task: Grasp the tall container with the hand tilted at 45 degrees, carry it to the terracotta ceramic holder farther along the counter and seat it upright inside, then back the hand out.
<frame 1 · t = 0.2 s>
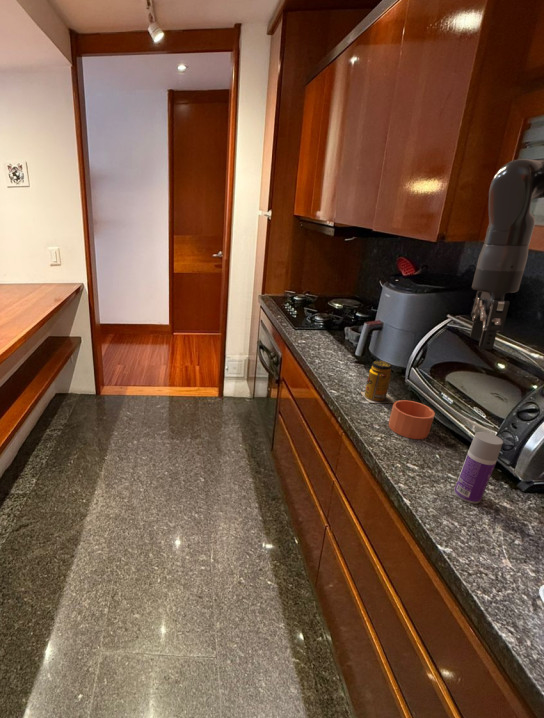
hand: (480, 343, 84), 31 cm above the worktop, tool pointing down, fingers open, 8 cm apart
condiment: (377, 398, 124), on the worktop
holder: (408, 429, 108), on the worktop
container: (466, 496, 84), on the worktop
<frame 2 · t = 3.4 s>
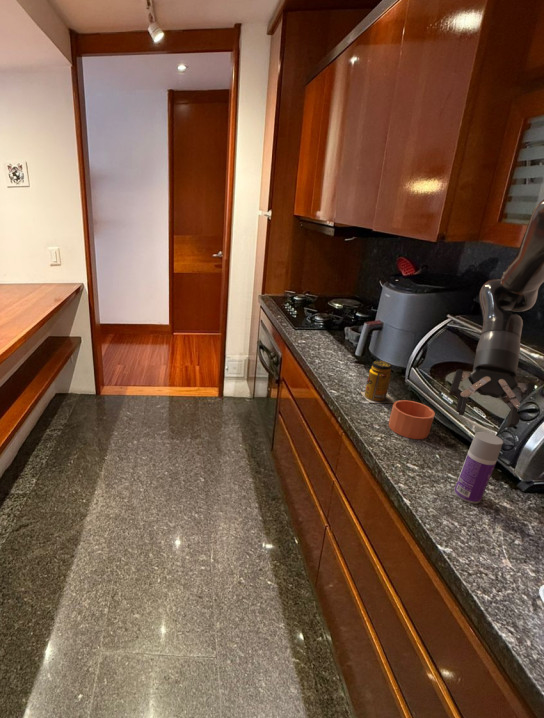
hand: (485, 420, 84), 15 cm above the worktop, tool tilted 45°, fingers open, 8 cm apart
nothing on the worktop moved.
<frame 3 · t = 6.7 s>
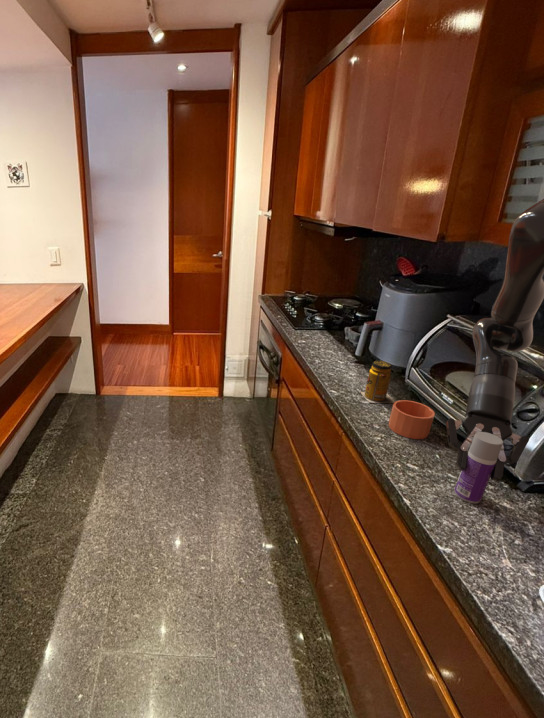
hand: (478, 474, 80), 7 cm above the worktop, tool tilted 45°, fingers closed on container, 4 cm apart
container: (466, 496, 84), on the worktop, touching gripper
everything else where it was.
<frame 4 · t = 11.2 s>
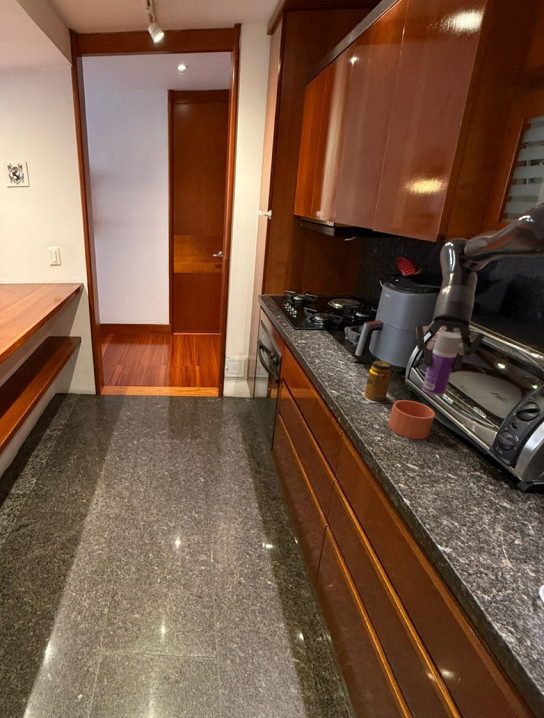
hand: (440, 367, 92), 22 cm above the worktop, tool tilted 45°, fingers closed on container, 4 cm apart
container: (432, 391, 97), point 15 cm above the worktop, touching gripper
everything else where it was.
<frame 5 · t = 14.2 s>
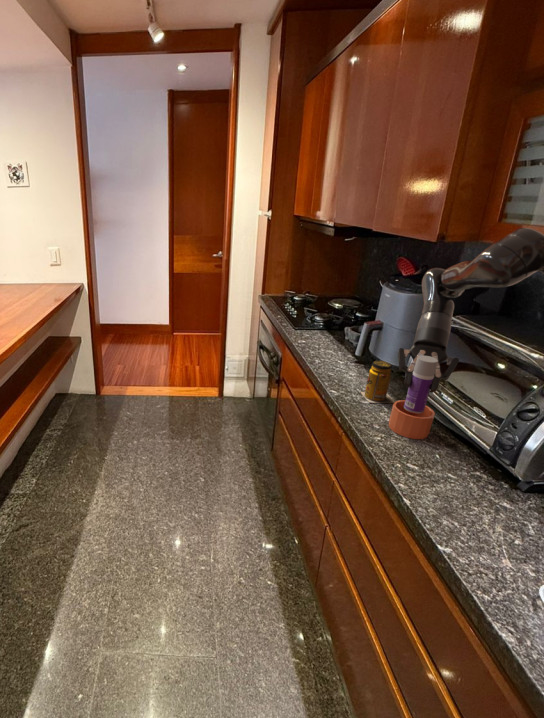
hand: (419, 388, 101), 13 cm above the worktop, tool tilted 45°, fingers closed on container, 4 cm apart
container: (413, 409, 105), point 6 cm above the worktop, touching gripper
everything else where it was.
when the fingers open (8 cm above the worktop, at t = 16.2 s): container stays where it is, resting on holder.
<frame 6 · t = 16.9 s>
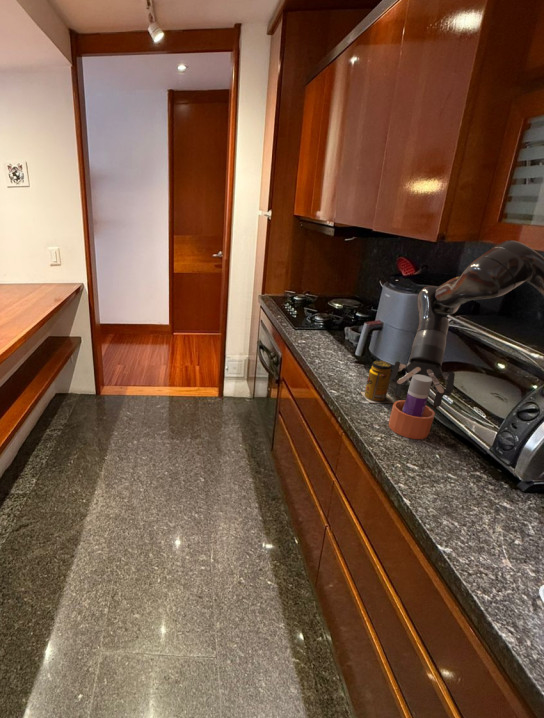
hand: (415, 402, 103), 9 cm above the worktop, tool tilted 45°, fingers open, 8 cm apart
container: (408, 426, 107), point 1 cm above the worktop, touching holder
everything else where it was.
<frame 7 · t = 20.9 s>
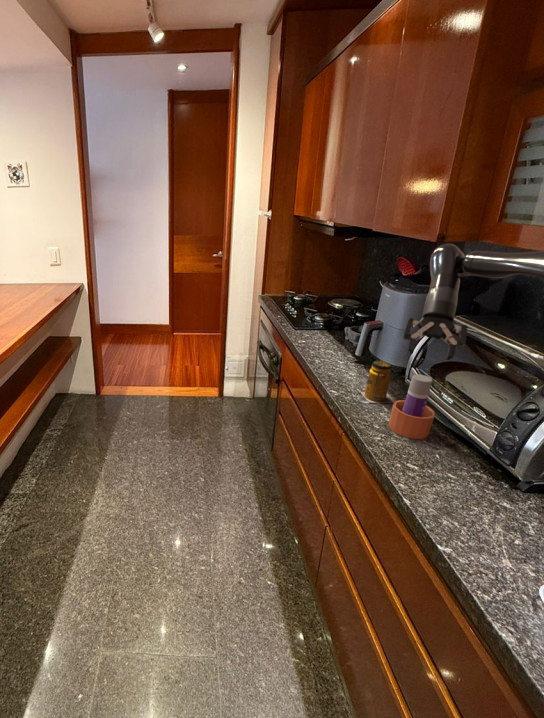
hand: (429, 355, 106), 19 cm above the worktop, tool tilted 45°, fingers open, 8 cm apart
nothing on the worktop moved.
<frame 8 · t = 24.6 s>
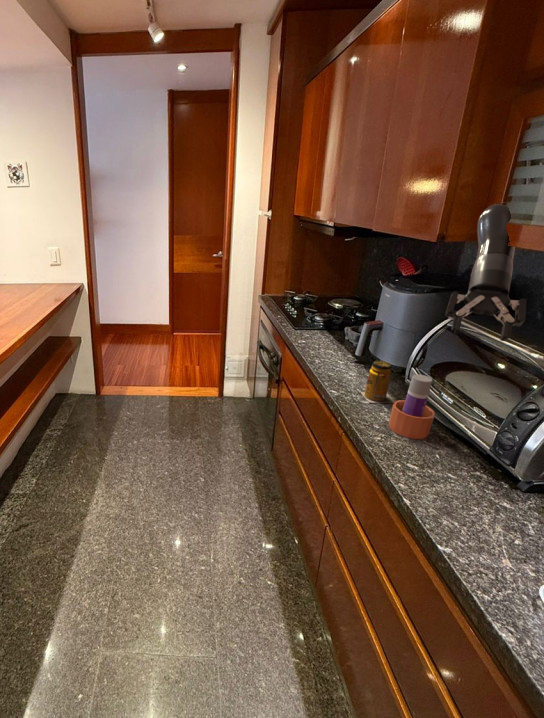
hand: (479, 335, 88), 31 cm above the worktop, tool tilted 45°, fingers open, 8 cm apart
nothing on the worktop moved.
at the end: container 0.2 cm off-centre in the holder, point 0.6 cm above the holder's base; container tilted 0°; the gripper is holding nothing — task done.
